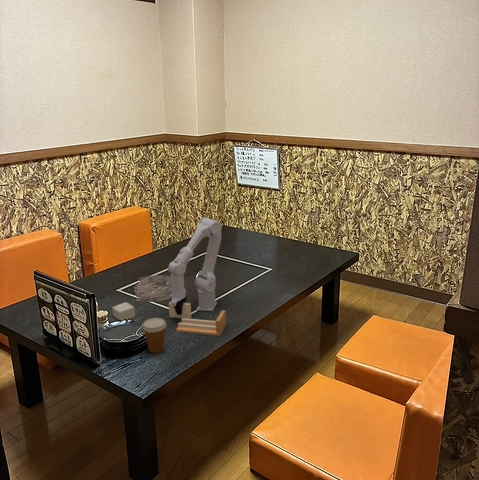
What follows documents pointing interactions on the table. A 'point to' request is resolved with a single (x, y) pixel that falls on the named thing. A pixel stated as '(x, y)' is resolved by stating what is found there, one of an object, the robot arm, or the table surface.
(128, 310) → the small box
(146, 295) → the grey fur rug
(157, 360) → the table surface
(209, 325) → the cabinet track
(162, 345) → the disposable coffee cup
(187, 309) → the door panel
